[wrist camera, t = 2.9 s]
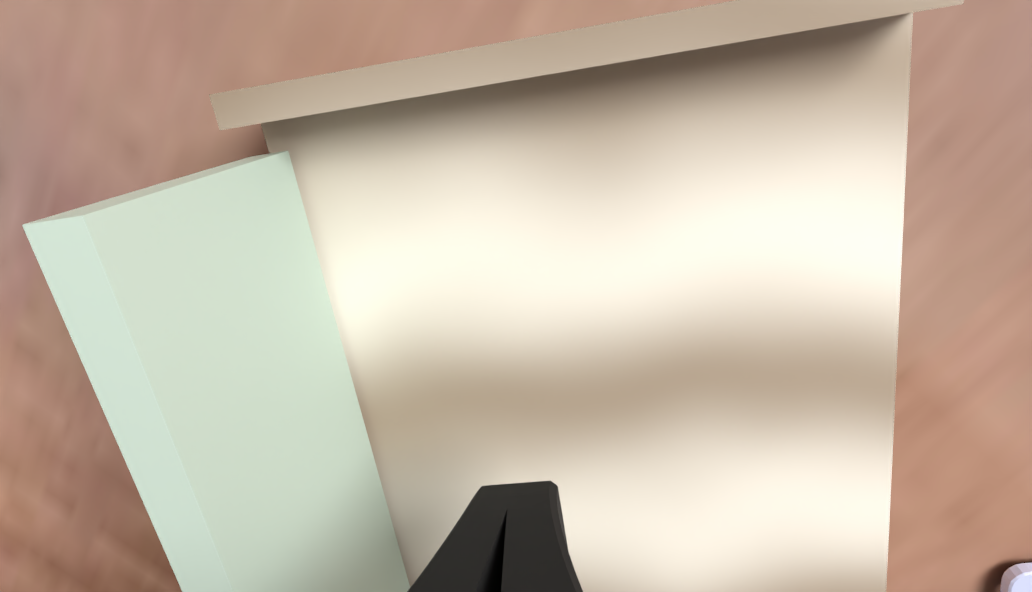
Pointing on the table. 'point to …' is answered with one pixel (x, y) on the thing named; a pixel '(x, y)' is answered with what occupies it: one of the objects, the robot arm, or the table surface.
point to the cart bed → (627, 282)
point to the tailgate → (226, 380)
